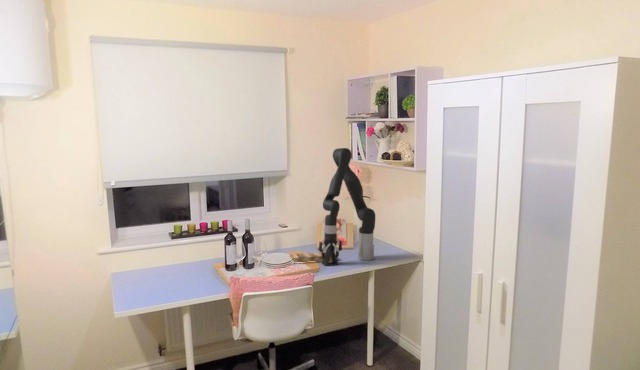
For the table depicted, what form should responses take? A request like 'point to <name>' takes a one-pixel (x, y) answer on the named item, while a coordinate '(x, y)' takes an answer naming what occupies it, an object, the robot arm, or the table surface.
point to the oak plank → (308, 257)
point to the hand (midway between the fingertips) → (330, 257)
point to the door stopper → (329, 253)
